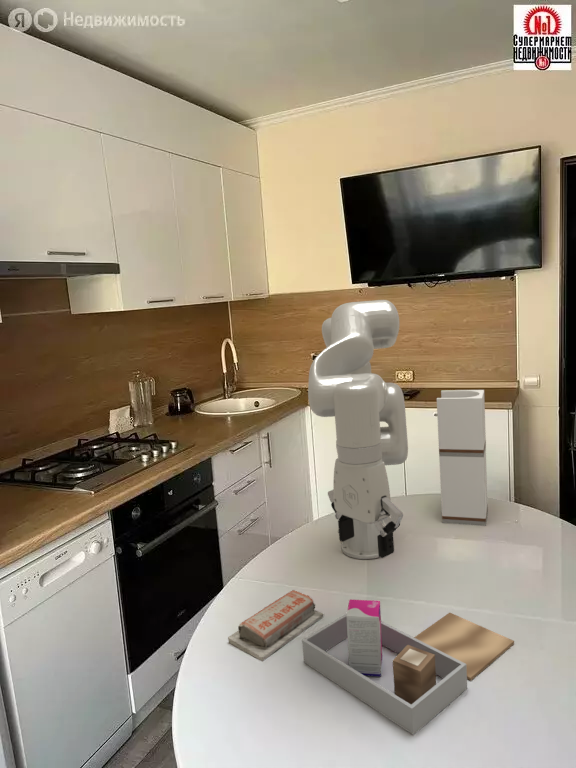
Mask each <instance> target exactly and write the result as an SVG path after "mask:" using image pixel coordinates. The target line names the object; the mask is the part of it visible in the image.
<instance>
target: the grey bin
mask: <svg viewBox="0 0 576 768" xmlns="http://www.w3.org/2000/svg"><path fill="white" fill-rule="evenodd" d="M346 616H347V612H346V613H345V614H343V615H341V616H339V618H337V619H335V620H333V621H331V622H330V623H328V624H326V625H325V626H323V627H321V628H320V629H317V631H315V632H313V633H312V634H309V635H308V636H306V637H305V638H303V639H302V640H301V644H302V655H303V663H305V664H306V665H308V666H309V667H311V668H312V669H314V670H315V671H316V672H318V673H320V674H321V675H323V676H324V677H325V678H327V679H329V680H330V681H331V682H333V683H334V684H336V685H338V686H339V687H341V688H342V689H344V690H345V691H347V692H348V693H350V694H351V695H353V696H354V697H356V698H357V699H359V700H360V701H362V702H363V703H365V704H366V705H368V706H369V707H371V708H372V709H373V710H375V711H376V712H378V713H380V714H381V715H382V716H384V717H386V718H387V719H389V720H390V721H392V722H394V723H395V724H397V725H398V726H399V727H401V728H403V729H404V731H407V732H408V733H410V734H412V735H415V734H416V733H417V732H418V731H420V730H421V729H422V728H423V727H425V726H426V725H427V724H428V723H429V722H430V721H431V720H432V719H434V718H435V717H436V716H437V715H438V714H439V713H441V712H442V711H443V710H444V709H445V708H447V707H448V706H449V705H450V704H451V703H452V702H453V701H454V700H456V699H457V698H458V697H459V696H460V695H462V693H464V692H465V691H466V690H468V679H467V668H466V664H465V663H463V662H461V661H459V660H457V659H455V658H453V657H451V656H449V655H447V654H445V653H443V652H442V651H440V650H438V649H436V648H434V647H432V646H430V645H428V644H426V643H424V642H422V641H420V640H418V639H416V638H414V637H415V636H412V635H410V634H408V633H406V632H404V631H402V630H400V629H399V628H396V627H394V626H392V625H390V624H388V623H386V622H385V621H383V620H381V635H382V646H383V647H385V646H386V648H387V649H389V650H391V651H393V652H394V653H397V655H398V654H399V653H400V652H401V651H402V650H403V649H404V648H405V647H406V646H407V645H410V646H413V647H415V648H418V649H421V650H424V651H426V652H429V653H432V654H434V655H435V669H436V676H439V677H440V678H442V679H441V680H439V682H436V685H435V686H434V687H432V688H431V689H430V690H429V691H427V692H426V693H425V694H424V695H423V696H421V697H420V698H419V699H418V700H416V701H415V702H414V703H413V704H409V703H408V702H406V701H405V700H403V699H401V698H400V697H398V696H396V695H395V693H394V692H392V691H390V690H389V689H386V688H385V687H384V686H382V685H380V684H379V683H377V682H375V681H374V680H372V679H371V678H369V677H368V676H364V675H363V674H361V673H359V672H358V671H356V670H354V669H353V668H351V667H350V666H349V664H348V665H347V664H346V663H345V662H343V661H341V660H339V659H338V658H336V657H335V656H333V655H332V654H330V653H329V652H327V651H329V650H330V649H332V648H333V647H334V646H336V645H338V644H339V643H341V642H342V641H344V640H345V639H348V636H347V617H346Z"/></svg>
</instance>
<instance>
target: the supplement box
mask: <svg viewBox="0 0 576 768" xmlns="http://www.w3.org/2000/svg"><path fill="white" fill-rule="evenodd" d="M346 613H347V616H346V617H347V636H348V637H347V651H348V655H347V656H348V666H350V667H351V668H353V669H354V670H356V671H358V672H359V673H361V674H363V675H364V676H366V677H378V678H380V677H382V663H383V645H382V635H381V621H382V616H381V614H382V613H381V601H380V600H372V599H371V600H368V599H367V600H366V599H348V606H347V611H346Z"/></svg>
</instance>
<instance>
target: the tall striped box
mask: <svg viewBox="0 0 576 768" xmlns="http://www.w3.org/2000/svg"><path fill="white" fill-rule="evenodd" d="M440 394H441V395H440V397H437V398H436V415H437V439H438V440H437V441H438V454H439V455H438V456H439V457H438V458H439V459H438V460H439V461H438V462H439V479H440V482H439V483H440V499H441V501H440V502H441V504H440V505H441V523H442V524H449V525H464V526H465V525H467V526H482V527H486V526H487V521H488V513H489V503H488V475H487V437H486V435H487V434H486V433H487V431H486V410H485V408H486V406H485V389H455V390H453V389H452V390H451V389H450V390H448V389H447V390H446V389H445V390H441V391H440Z"/></svg>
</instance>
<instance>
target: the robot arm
mask: <svg viewBox="0 0 576 768" xmlns="http://www.w3.org/2000/svg"><path fill="white" fill-rule="evenodd" d="M399 333H400V316H399V312H398V309H397V307H396V306H395V304H394V303H393V302H391V301H390V300H388V299H376V300H375V299H374V300H364V301H352V302H351V301H350V302H346V303H343V304H340V305H339V306H336V308H335V309H334V310H333V312H332V314H331V317H328V318H326V319H325V320H324V321H323V322H322V325H321V334H322V338H323V341H324V344H325V346H326V347H325V348H324V349H323V350H322V351H321V352H320V353H319V354H317V356H316V357H315V358H314V359H313V361H312V362H311V365H310V368H309V373H308V383H307V384H308V385H307V386H308V390H307V396H308V397H307V398H308V403H309V407H310V410H311V412H313V414H315V415H316V416H317V417H321V418H330V417H334V424H335V436H336V440H335V447H336V448H335V449H336V453H337V454H336V455H337V458H336V459H335V463H334V469H333V486H332V487H333V489H331V490H329V491H328V492H327V496H328V499H329V501H330V506H331V508H332V510H333V511H334V513H335V514H334V517H335V519H336V520H337V525H338V530H337V533H338V539H339V541H340V542H341V545H340V546H341V551H342V553H343V554H345V555H346V556H348V557H350V558H354V559H358V560H372V559H376V558H381V559H384V558H385V557H388V556H389V555H392V554H394V553H395V546H394V533H395V532H396V531H397V529H398V528H399V527H400V526H401V522H402V519H403V517H404V513H403V512H402V510H401V509H399V508H398V506H396V504H394V503H393V501H392V500H391V492H390V491H391V490H390V485H389V478H388V473H387V469H386V466H395V465H396V466H397V465H401V464H404V463H405V462H406V461H407V460H408V459H407V458H408V455H409V443H408V430H407V429H408V428H407V416H406V415H407V414H406V403H405V398H404V396H405V395H404V393H403V390H402V388H401V386H400V385H398V383H394V382H385V380H383V378H382V377H381V376H380V375H379V374H377V373H372V365H371V362H370V361H371V360H372V359H373V355H374V350H377V349H386V348H391V347H393V346H394V345H396V342H397V339H398V335H399ZM381 422H382V423H383V422H384V423H386V424H387V425H388V426H381ZM384 523H385V526H384Z"/></svg>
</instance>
